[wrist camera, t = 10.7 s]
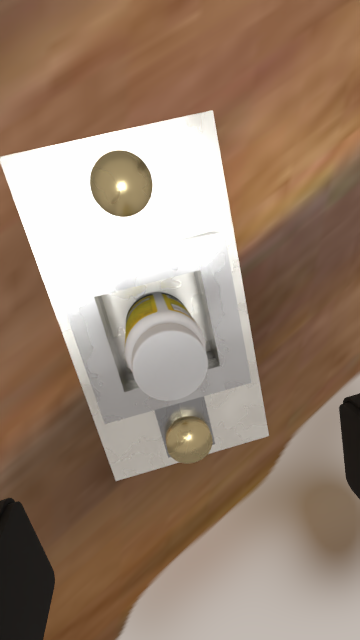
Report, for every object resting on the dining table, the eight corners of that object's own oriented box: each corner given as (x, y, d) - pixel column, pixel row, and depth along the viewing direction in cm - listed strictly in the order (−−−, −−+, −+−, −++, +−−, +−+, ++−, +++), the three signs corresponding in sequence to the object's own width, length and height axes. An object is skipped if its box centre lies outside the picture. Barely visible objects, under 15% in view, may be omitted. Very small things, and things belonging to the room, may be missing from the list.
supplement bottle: (127, 352, 25) (124, 411, 17) (124, 291, 24) (120, 324, 16) (188, 349, 26) (214, 404, 18) (189, 290, 24) (217, 321, 16)
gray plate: (264, 429, 30) (285, 460, 26) (116, 472, 29) (113, 512, 25) (209, 115, 22) (226, 90, 18) (4, 160, 21) (-25, 144, 17)
